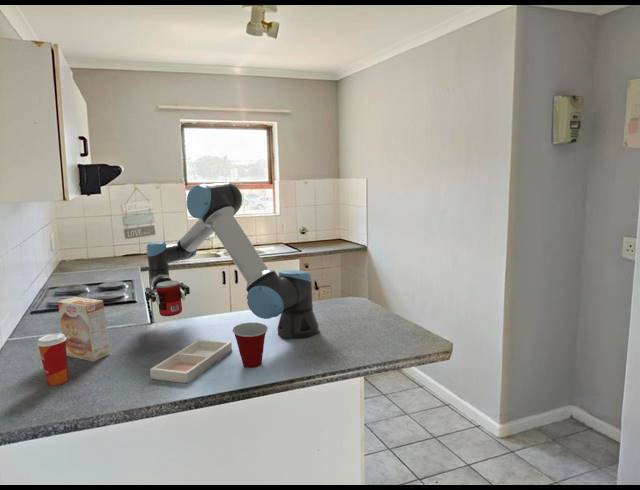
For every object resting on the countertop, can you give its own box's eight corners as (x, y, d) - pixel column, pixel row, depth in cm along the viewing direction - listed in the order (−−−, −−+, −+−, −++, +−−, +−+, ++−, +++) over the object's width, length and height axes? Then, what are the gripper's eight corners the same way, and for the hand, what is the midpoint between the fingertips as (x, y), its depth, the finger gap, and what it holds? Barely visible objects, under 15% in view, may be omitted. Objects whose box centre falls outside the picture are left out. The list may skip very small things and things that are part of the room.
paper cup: (50, 377, 144) (44, 333, 142) (76, 374, 145) (70, 331, 143) (38, 388, 137) (30, 343, 135) (65, 386, 137) (58, 341, 135)
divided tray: (199, 347, 163) (198, 339, 162) (232, 350, 158) (231, 342, 158) (151, 378, 139) (150, 369, 139) (187, 383, 135) (186, 373, 134)
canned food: (185, 309, 169) (182, 280, 168) (176, 316, 162) (173, 285, 160) (165, 310, 170) (162, 280, 169) (155, 316, 162) (152, 286, 161)
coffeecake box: (64, 355, 162) (56, 301, 159) (83, 348, 168) (75, 296, 165) (92, 362, 155) (84, 305, 152) (111, 354, 161) (103, 299, 158)
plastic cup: (255, 374, 139) (252, 335, 137) (228, 367, 144) (224, 330, 142) (277, 360, 148) (274, 324, 146) (251, 355, 153) (248, 320, 151)
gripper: (191, 290, 186) (202, 303, 165) (135, 298, 177) (140, 314, 157) (189, 272, 185) (200, 283, 164) (133, 279, 176) (137, 292, 156)
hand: (171, 298), depth 161 cm, fingers closed on canned food, 8 cm apart
